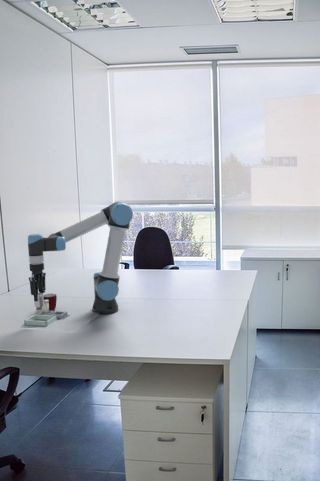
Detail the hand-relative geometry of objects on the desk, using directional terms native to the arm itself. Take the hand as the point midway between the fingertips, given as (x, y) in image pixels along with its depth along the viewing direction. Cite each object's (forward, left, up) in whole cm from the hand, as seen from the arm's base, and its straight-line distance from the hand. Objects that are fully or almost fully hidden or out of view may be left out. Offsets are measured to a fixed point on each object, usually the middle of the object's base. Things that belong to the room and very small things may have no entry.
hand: (39, 305), depth 257 cm
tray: (0, 0, -10) cm, 10 cm away
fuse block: (-1, -11, -10) cm, 15 cm away
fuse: (+3, -11, -9) cm, 15 cm away
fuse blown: (0, 0, -3) cm, 3 cm away
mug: (+8, -22, -10) cm, 26 cm away
